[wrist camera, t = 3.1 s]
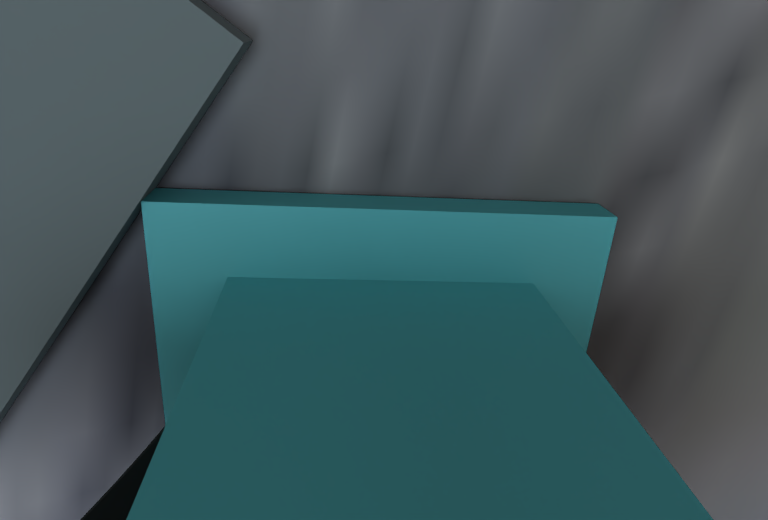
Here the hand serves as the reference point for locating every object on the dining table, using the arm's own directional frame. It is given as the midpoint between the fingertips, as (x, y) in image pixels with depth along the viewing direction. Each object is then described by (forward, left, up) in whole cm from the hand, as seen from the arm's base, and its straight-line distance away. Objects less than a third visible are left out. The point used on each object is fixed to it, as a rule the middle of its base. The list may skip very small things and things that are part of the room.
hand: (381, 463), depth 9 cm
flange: (0, 0, -2) cm, 2 cm away
